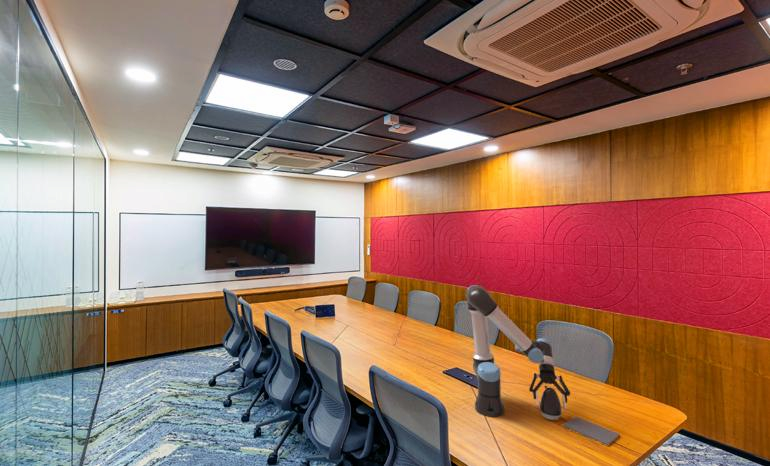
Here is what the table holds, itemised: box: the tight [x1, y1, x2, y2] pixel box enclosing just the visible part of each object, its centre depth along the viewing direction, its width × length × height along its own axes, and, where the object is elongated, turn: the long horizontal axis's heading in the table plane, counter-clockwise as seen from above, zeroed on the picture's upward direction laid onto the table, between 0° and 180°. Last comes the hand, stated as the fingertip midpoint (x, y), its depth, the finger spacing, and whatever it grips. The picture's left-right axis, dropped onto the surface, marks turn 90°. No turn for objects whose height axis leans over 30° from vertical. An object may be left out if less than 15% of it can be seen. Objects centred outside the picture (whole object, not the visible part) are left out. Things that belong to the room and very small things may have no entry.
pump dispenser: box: [539, 385, 563, 421], centre depth 180 cm, size 10×10×15 cm
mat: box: [562, 416, 621, 446], centre depth 167 cm, size 13×20×1 cm, turn 36°
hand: (551, 407), depth 178 cm, fingers open, 12 cm apart
